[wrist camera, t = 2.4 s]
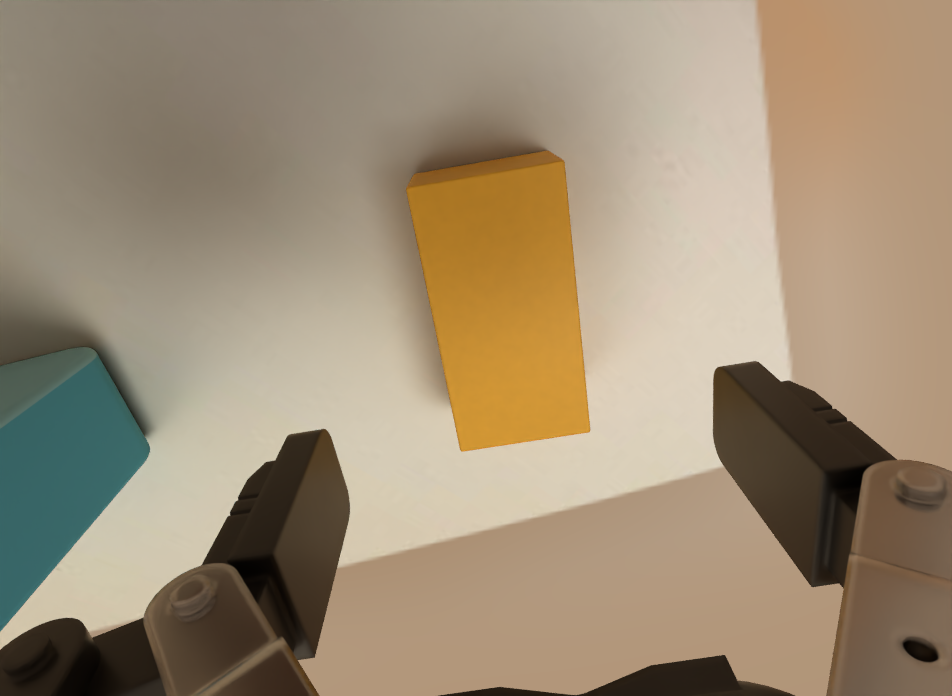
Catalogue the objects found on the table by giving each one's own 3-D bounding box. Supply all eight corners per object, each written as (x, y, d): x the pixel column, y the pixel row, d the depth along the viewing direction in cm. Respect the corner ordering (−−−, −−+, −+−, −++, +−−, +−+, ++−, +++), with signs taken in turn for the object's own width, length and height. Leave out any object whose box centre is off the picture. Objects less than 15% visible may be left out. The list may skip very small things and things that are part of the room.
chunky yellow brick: (549, 149, 19) (564, 159, 16) (574, 390, 22) (590, 432, 20) (413, 173, 19) (405, 187, 16) (460, 408, 22) (460, 452, 20)
